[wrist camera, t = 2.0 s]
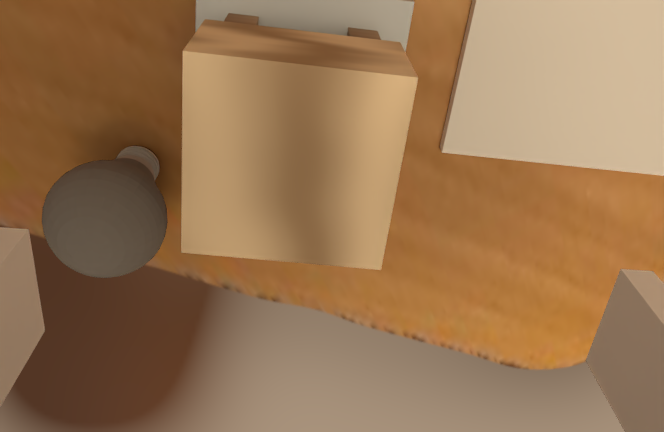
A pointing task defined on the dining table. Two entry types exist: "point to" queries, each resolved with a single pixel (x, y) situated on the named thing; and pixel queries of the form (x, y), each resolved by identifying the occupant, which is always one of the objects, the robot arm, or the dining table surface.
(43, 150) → the dining table surface
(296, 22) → the gray square block
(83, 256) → the light bulb
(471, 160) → the dining table surface
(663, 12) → the mat
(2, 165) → the dining table surface
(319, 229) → the stool
